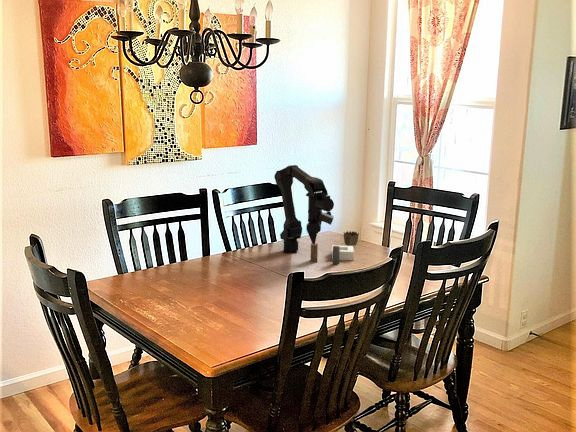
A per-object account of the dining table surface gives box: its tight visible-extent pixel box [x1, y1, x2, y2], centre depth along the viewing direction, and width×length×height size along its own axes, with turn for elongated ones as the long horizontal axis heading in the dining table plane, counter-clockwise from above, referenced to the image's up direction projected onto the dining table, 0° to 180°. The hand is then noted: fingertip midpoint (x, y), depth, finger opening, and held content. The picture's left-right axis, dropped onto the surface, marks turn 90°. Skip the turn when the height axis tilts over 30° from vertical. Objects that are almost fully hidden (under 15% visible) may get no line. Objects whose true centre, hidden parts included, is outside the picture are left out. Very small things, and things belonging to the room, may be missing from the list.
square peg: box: [310, 242, 319, 263], centre depth 268 cm, size 3×3×8 cm
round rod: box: [332, 245, 341, 266], centre depth 264 cm, size 3×3×8 cm
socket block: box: [331, 244, 355, 261], centre depth 275 cm, size 10×10×4 cm
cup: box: [343, 231, 360, 249], centre depth 288 cm, size 8×7×8 cm
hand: (314, 241), depth 267 cm, fingers open, 9 cm apart
